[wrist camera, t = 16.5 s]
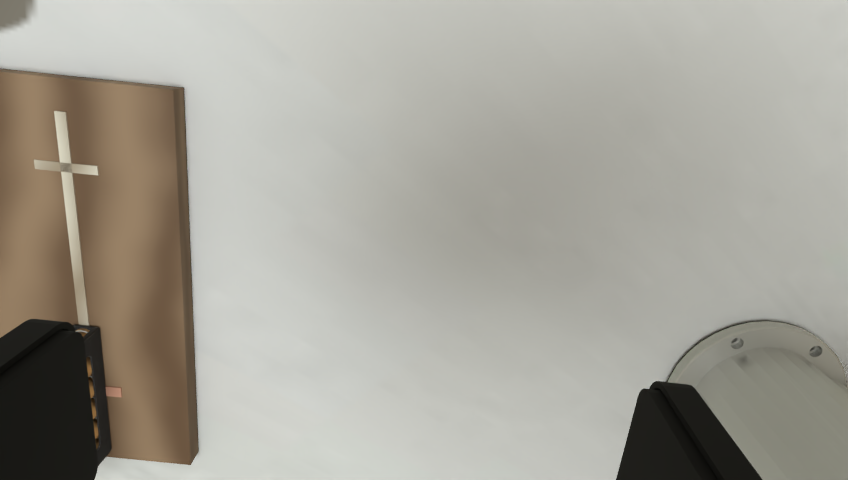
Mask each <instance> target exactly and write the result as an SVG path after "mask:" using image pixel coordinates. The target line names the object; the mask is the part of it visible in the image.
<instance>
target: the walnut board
mask: <svg viewBox="0 0 848 480" xmlns="http://www.w3.org/2000/svg"><path fill="white" fill-rule="evenodd" d="M29 319H42V320H52V321H62V322H69V323H70V324H72V325H73V324H74V325H84V326H93V327H98V328H100V336H101V346H102V356H103V367H104V377H105V387H106V397H107V408H108V418H109V428H110V438H111V451H110V453H109V454H108V455H107V456H106V457H116V458H126V459H136V460H146V461H157V462H167V463H177V464H187V465H191V463H192V462H193V460H194V458H195V456H196V455H197V453H198V428H197V403H196V379H195V354H194V329H193V304H192V280H191V255H190V230H189V206H188V181H187V156H186V131H185V107H184V88H180V87H171V86H161V85H152V84H142V83H132V82H123V81H113V80H103V79H94V78H84V77H75V76H65V75H55V74H46V73H36V72H26V71H17V70H7V69H0V338H1V337H2V336H4V335H5V334H7V333H8V332H10V331H11V330H13V329H14V328H16V327H17V326H19V325H20V324H22V323H23V322H25V321H27V320H29Z"/></svg>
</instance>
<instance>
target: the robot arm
mask: <svg viewBox="0 0 848 480" xmlns="http://www.w3.org/2000/svg"><path fill="white" fill-rule="evenodd" d="M97 468H98V458H97V449H96V441H95V432H94V423H93V414H92V405H91V396H90V388H89V379H88V370H87V361H86V352H85V343H84V338H83V336H82V334H81V333H79V332H75V329H74V327H73V325H72V324H70V323H69V322H62V321H52V320H42V319H29V320H27V321H25V322H23V323H22V324H20V325H19V326H17V327H16V328H14V329H13V330H11V331H10V332H8V333H7V334H5V335H4V336H2V337H1V338H0V480H94V479H95V476H96V473H97ZM616 480H848V388H847V380H846V376H845V372H844V368H843V366H842V364H841V363H840V361H839V359H838V357H837V355H836V354H835V353H834V352H833V351H832V350H831V349H830V348H829V347H828V346H827V345H826V344H825V343H824V342H822V341H821V340H820V339H819V338H817V337H816V336H815V335H813V334H811V333H809V332H808V331H806V330H804V329H802V328H800V327H797V326H793V325H790V324H786V323H780V322H770V321H763V322H749V323H745V324H741V325H736V326H732V327H730V328H727V329H725V330H722V331H720V332H717V333H715V334H713V335H712V336H710V337H708V338H707V339H705V340H703V341H701V342H700V343H699V344H698V345H696V346H695V347H694V348H693V349H692V350H690V351H689V352H688V353H687V354H686V355H685V356H684V357H683V359H682V360H681V361H680V362H679V363H678V364H677V366H676V367H675V369H674V371H673V373H672V374H671V376H670V378H669V380H668V382H659V381H656V382H654V383H653V384H652V385H651V386H650V389H642V390H641V392H640V393H639V396H638V399H637V403H636V407H635V410H634V414H633V418H632V422H631V426H630V429H629V433H628V437H627V441H626V445H625V448H624V452H623V456H622V460H621V464H620V467H619V471H618V475H617V479H616Z"/></svg>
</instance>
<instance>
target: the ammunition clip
mask: <svg viewBox="0 0 848 480" xmlns="http://www.w3.org/2000/svg"><path fill="white" fill-rule="evenodd" d="M73 327H74V329H75V332H79V333H81V334H82V336H83V338H84V343H85V352H86V361H87V370H88V379H89V388H90V396H91V405H92V414H93V423H94V432H95V441H96V449H97V458H98V466H99V464H100V463H101V462H102V461H103V460H104V458H105V457H106V456H107V455H108V454H109V453H110V451H111V438H110V428H109V418H108V408H107V397H106V387H105V377H104V367H103V356H102V346H101V336H100V328H98V327H93V326H84V325H74V324H73Z"/></svg>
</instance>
